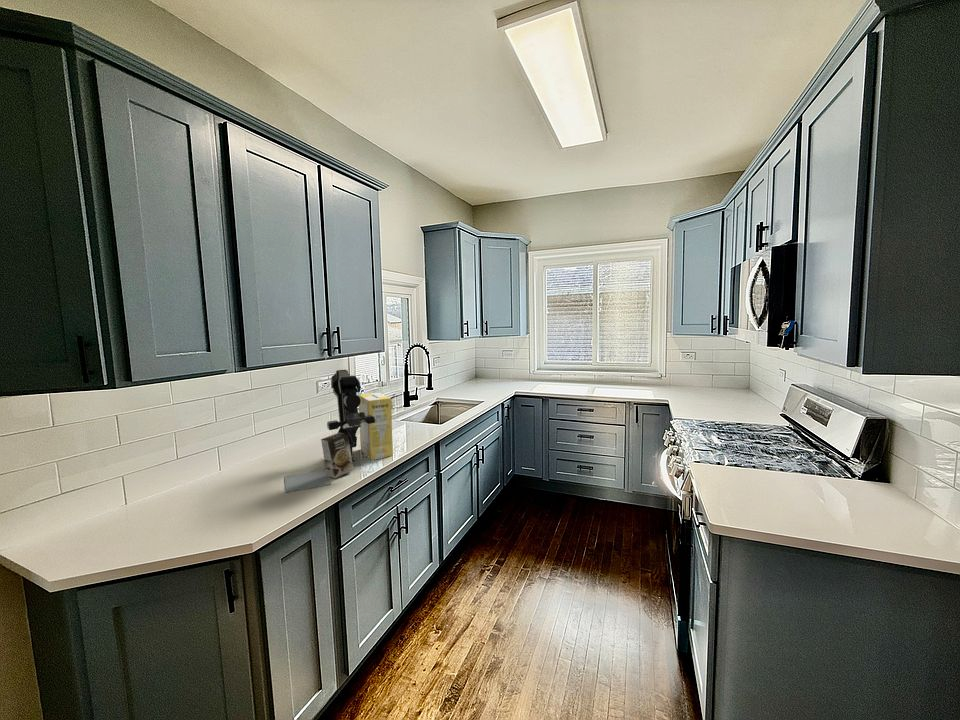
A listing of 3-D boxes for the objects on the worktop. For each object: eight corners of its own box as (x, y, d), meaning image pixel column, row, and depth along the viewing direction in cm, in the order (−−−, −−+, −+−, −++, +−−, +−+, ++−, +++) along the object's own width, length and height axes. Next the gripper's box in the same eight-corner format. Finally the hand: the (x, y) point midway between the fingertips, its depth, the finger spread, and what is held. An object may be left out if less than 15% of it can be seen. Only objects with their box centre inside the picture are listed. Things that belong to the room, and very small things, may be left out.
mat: (284, 476, 166) (284, 475, 166) (325, 469, 173) (325, 469, 173) (285, 492, 150) (285, 492, 150) (330, 484, 157) (330, 483, 157)
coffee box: (335, 478, 162) (328, 441, 159) (326, 475, 166) (320, 439, 163) (354, 469, 169) (348, 433, 166) (345, 466, 173) (339, 431, 170)
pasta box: (360, 449, 201) (358, 394, 198) (381, 445, 206) (379, 392, 203) (371, 459, 185) (368, 400, 182) (392, 455, 191) (391, 398, 188)
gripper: (329, 411, 155) (333, 450, 156) (377, 404, 164) (380, 441, 165) (325, 408, 165) (328, 445, 166) (370, 402, 174) (373, 437, 175)
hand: (353, 442), depth 168 cm, fingers closed
